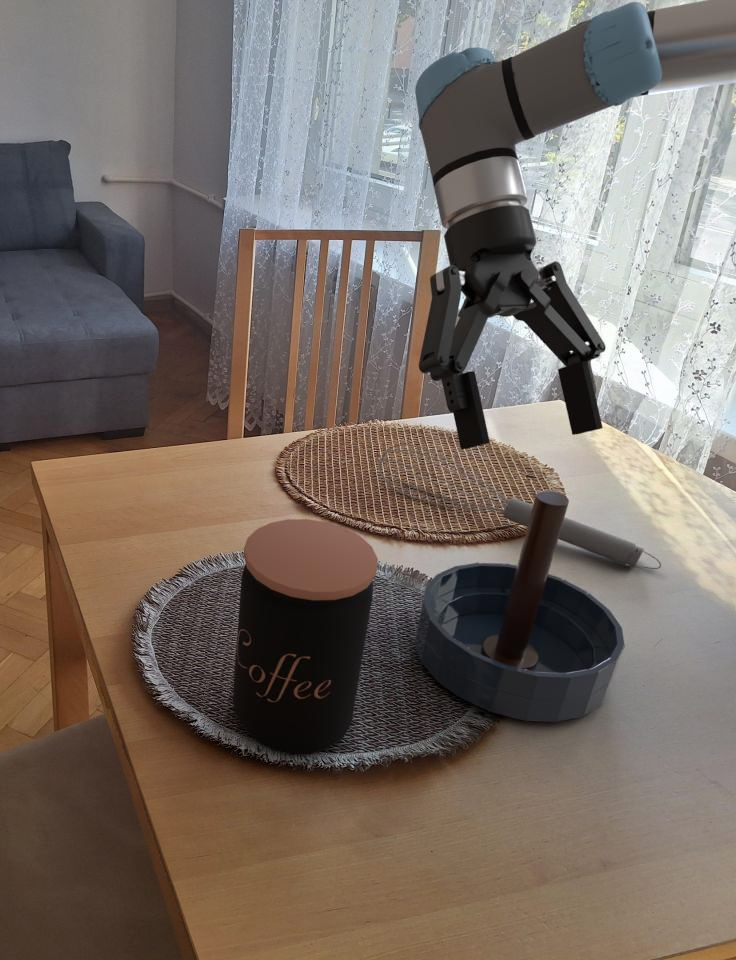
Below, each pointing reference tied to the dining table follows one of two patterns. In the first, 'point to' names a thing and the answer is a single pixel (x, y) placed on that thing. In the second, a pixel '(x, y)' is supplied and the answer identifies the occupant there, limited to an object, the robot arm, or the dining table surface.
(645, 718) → the dining table surface
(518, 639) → the stirring stick
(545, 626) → the bowl
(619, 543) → the kitchen whisk
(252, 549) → the coffee jar
